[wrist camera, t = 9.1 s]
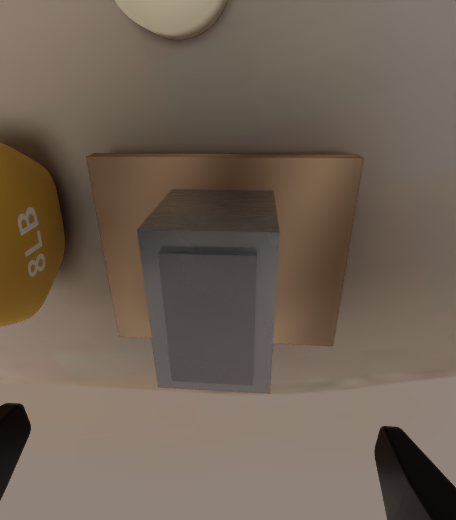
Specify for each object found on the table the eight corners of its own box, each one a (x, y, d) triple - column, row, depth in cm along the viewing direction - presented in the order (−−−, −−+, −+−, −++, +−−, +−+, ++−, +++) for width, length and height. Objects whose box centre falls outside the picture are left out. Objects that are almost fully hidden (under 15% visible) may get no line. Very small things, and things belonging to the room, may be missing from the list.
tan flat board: (349, 148, 17) (363, 158, 14) (325, 318, 21) (333, 346, 19) (107, 148, 18) (85, 156, 15) (133, 311, 22) (119, 336, 20)
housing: (267, 319, 18) (270, 399, 14) (182, 316, 19) (156, 392, 14) (273, 190, 15) (280, 236, 11) (171, 189, 16) (133, 232, 11)
